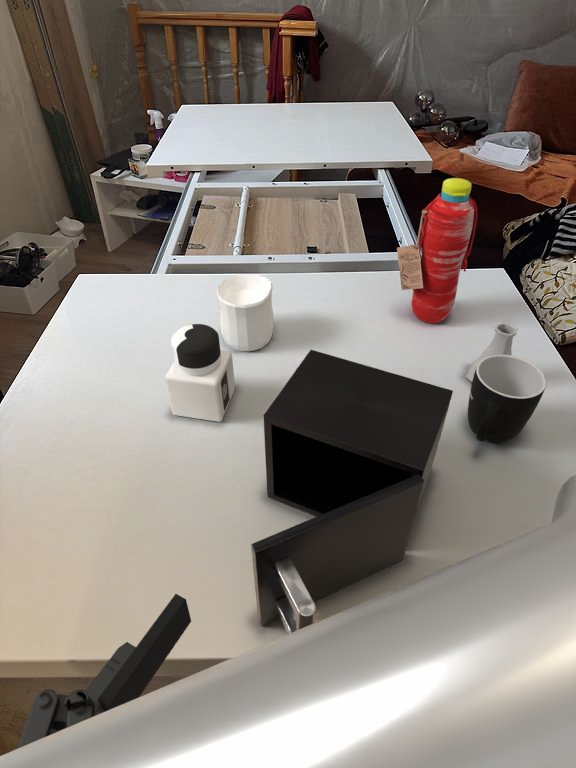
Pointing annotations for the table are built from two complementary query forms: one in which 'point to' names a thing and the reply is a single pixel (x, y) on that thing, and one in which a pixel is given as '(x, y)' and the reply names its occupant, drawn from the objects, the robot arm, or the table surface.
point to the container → (199, 374)
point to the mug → (503, 397)
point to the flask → (497, 345)
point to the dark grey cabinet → (348, 433)
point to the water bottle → (439, 252)
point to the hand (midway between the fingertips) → (282, 662)
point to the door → (332, 552)
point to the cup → (246, 311)
